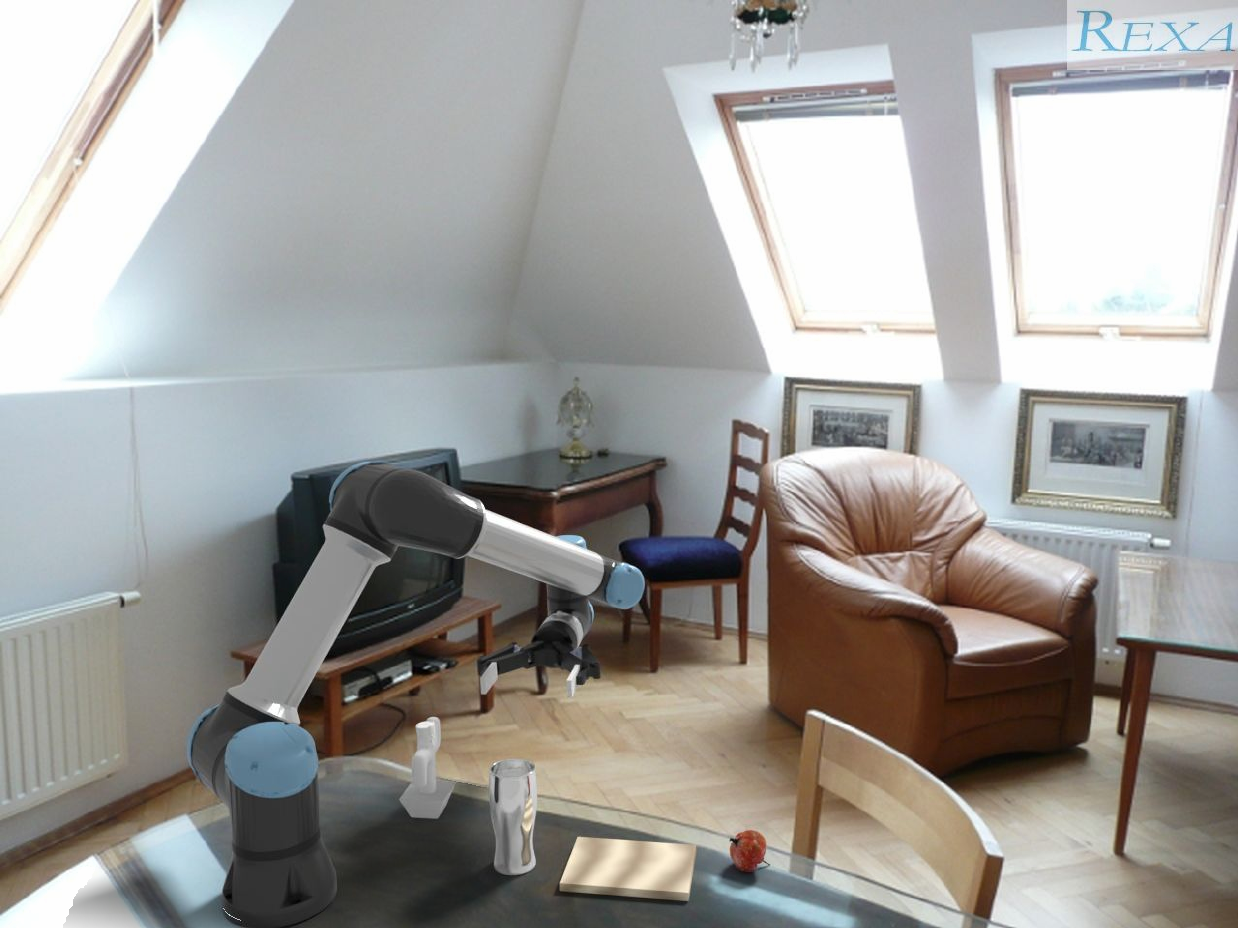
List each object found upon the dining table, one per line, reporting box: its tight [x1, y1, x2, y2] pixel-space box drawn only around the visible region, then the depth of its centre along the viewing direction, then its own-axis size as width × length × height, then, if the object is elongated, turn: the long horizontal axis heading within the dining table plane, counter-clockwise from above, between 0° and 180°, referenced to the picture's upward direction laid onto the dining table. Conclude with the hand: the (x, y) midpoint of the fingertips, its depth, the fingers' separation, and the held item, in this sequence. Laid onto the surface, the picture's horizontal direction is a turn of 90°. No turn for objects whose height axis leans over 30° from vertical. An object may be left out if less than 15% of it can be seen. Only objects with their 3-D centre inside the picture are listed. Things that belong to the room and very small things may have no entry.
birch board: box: [559, 836, 697, 902], centre depth 150 cm, size 18×13×1 cm
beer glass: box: [488, 757, 538, 876], centre depth 151 cm, size 7×7×15 cm
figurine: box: [398, 716, 456, 820], centre depth 167 cm, size 7×9×15 cm
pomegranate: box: [728, 829, 771, 873], centre depth 150 cm, size 6×6×8 cm
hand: (525, 687), depth 159 cm, fingers open, 13 cm apart
